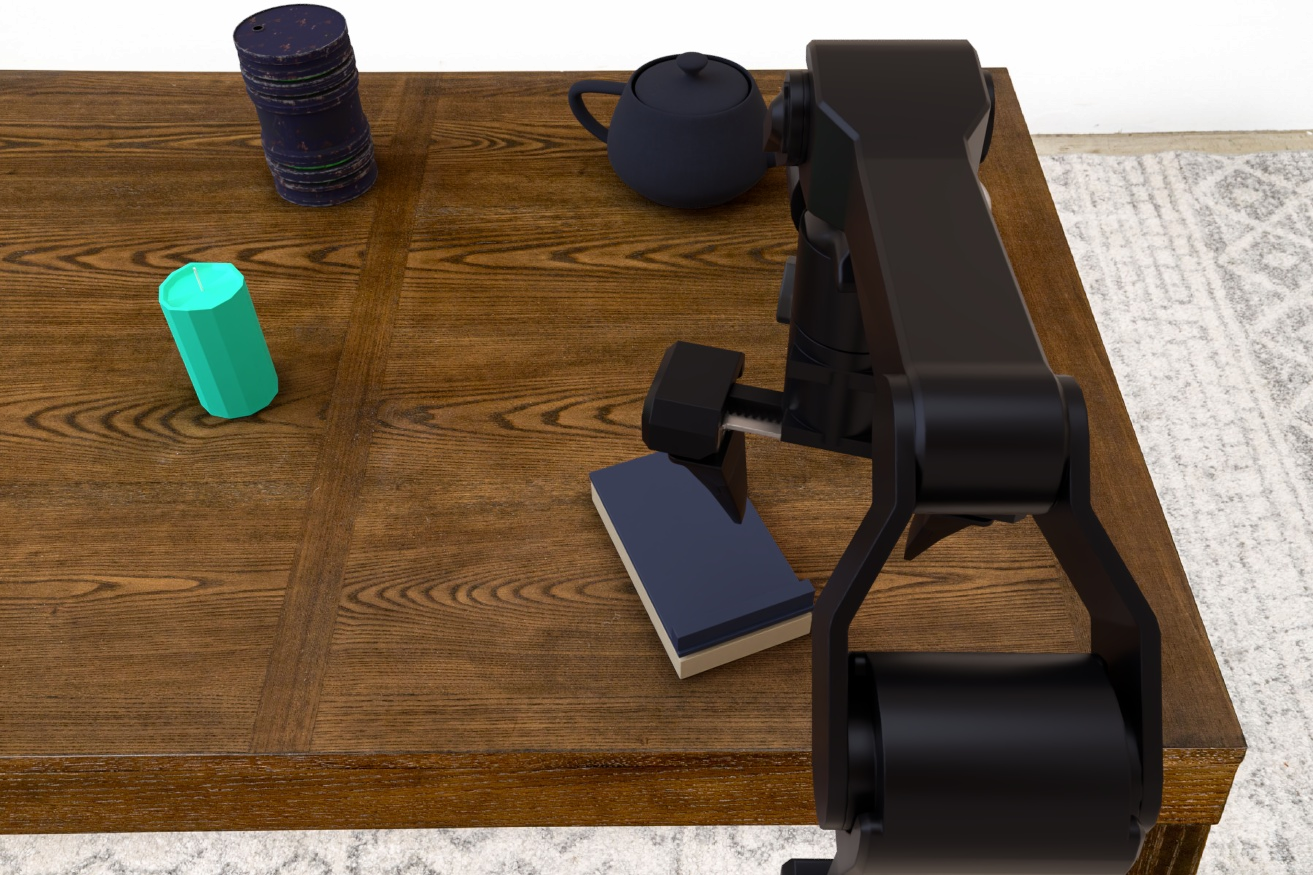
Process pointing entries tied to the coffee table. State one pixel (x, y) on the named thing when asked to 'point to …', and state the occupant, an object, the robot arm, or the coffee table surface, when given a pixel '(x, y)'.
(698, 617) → the cover
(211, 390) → the candle
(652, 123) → the teapot
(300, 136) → the dark blue barrel
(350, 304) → the coffee table surface
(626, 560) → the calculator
